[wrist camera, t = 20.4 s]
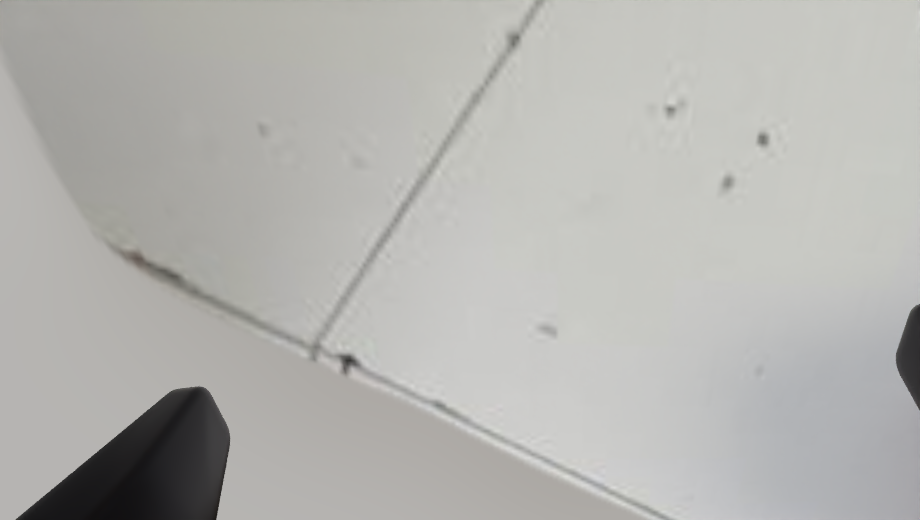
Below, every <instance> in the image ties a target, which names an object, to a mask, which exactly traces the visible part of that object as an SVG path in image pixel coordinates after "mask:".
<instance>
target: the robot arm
mask: <svg viewBox="0 0 920 520" xmlns="http://www.w3.org/2000/svg"><path fill="white" fill-rule="evenodd" d="M896 364H897V368H898V371H899V373H900V376H901V378H902V379H903V381H904V383H905V385H906V387H907V388H908V390H909V392H910V394H911V396H912V397H913V399H914V401H915V403H916V405H917V406H918V408H919V410H920V304H919V305H916V306H915V307H914V308H913V309H912V310H911V312H910V314H909V316H908V319H907V322H906V325H905V328H904V331H903V334H902V337H901V340H900V343H899V346H898V349H897V353H896ZM229 446H230V434H229V429H228V427H227V424H226V422H225V420H224V418H223V417H222V415H221V413H220V411H219V409H218V407H217V405H216V403H215V401H214V399H213V397H212V395H211V394H210V392H209V391H208V390H207V389H206V388H204V387H190V388H182V389H176V390H173V391H171V392H169V393H168V394H167V395H166V396H165V397H163V398H162V399H161V400H160V401H158V402H157V403H156V404H155V405H153V406H152V407H151V408H150V409H149V410H147V411H146V412H145V413H144V414H143V415H141V416H140V417H139V418H138V419H137V420H135V421H134V422H133V423H132V424H131V425H129V426H128V427H127V428H126V429H125V430H123V431H122V432H121V433H120V434H118V435H117V436H116V437H115V438H114V439H112V440H111V441H110V442H109V443H108V444H106V445H105V446H104V447H103V448H102V449H100V450H99V451H98V452H97V453H95V454H94V455H93V456H92V457H91V458H89V459H88V460H87V461H86V462H85V463H83V464H82V465H81V466H80V467H79V468H77V469H76V470H75V471H74V472H73V473H71V474H70V475H69V476H68V477H67V478H65V479H64V480H63V481H62V482H60V483H59V484H58V485H57V486H56V487H54V488H53V489H52V490H51V491H50V492H48V493H47V494H46V495H45V496H43V498H41V499H40V500H39V501H37V502H36V503H35V504H34V505H33V506H31V507H30V508H29V509H28V510H27V511H26V512H24V513H23V514H22V515H21V516H19V517H18V518H17V519H16V520H216V518H217V511H218V507H219V501H220V496H221V490H222V485H223V479H224V474H225V468H226V463H227V457H228V452H229Z"/></svg>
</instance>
